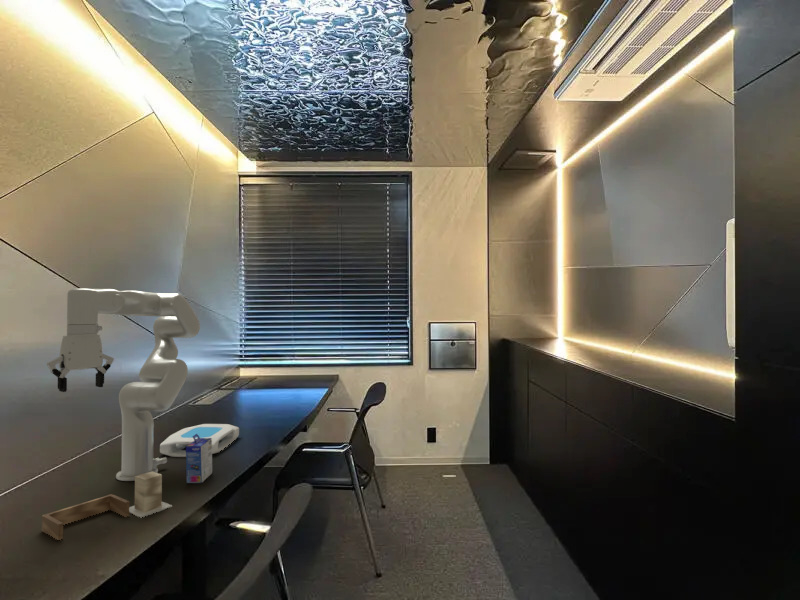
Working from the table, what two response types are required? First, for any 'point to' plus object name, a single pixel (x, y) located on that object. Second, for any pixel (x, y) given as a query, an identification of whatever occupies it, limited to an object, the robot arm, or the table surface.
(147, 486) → the block
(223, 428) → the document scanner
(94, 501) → the u-shaped frame
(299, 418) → the table surface
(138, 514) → the mat
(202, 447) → the ink cartridge box
